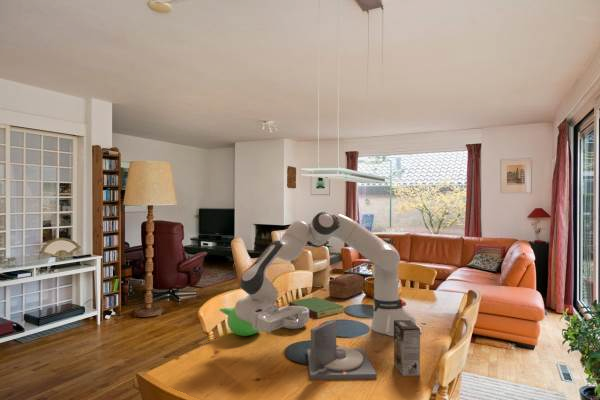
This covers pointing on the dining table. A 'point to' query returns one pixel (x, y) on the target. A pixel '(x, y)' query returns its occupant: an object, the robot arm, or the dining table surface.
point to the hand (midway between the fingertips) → (296, 323)
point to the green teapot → (238, 323)
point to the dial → (331, 350)
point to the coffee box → (407, 347)
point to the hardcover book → (318, 307)
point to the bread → (345, 286)
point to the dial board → (358, 373)
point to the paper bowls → (304, 317)
